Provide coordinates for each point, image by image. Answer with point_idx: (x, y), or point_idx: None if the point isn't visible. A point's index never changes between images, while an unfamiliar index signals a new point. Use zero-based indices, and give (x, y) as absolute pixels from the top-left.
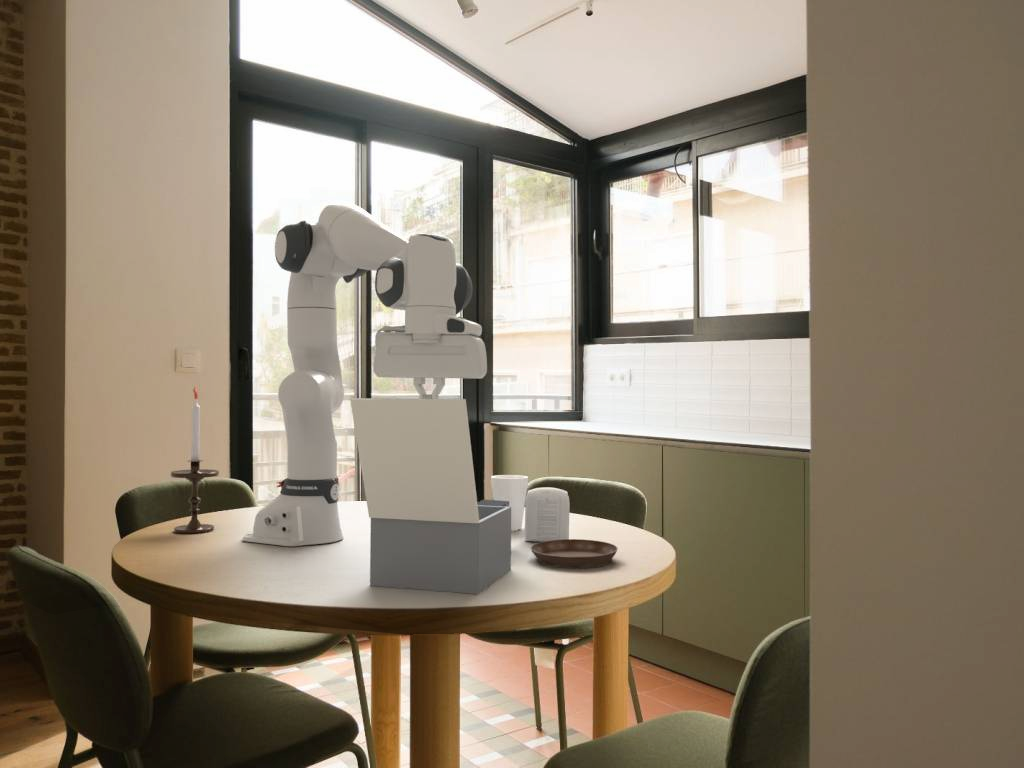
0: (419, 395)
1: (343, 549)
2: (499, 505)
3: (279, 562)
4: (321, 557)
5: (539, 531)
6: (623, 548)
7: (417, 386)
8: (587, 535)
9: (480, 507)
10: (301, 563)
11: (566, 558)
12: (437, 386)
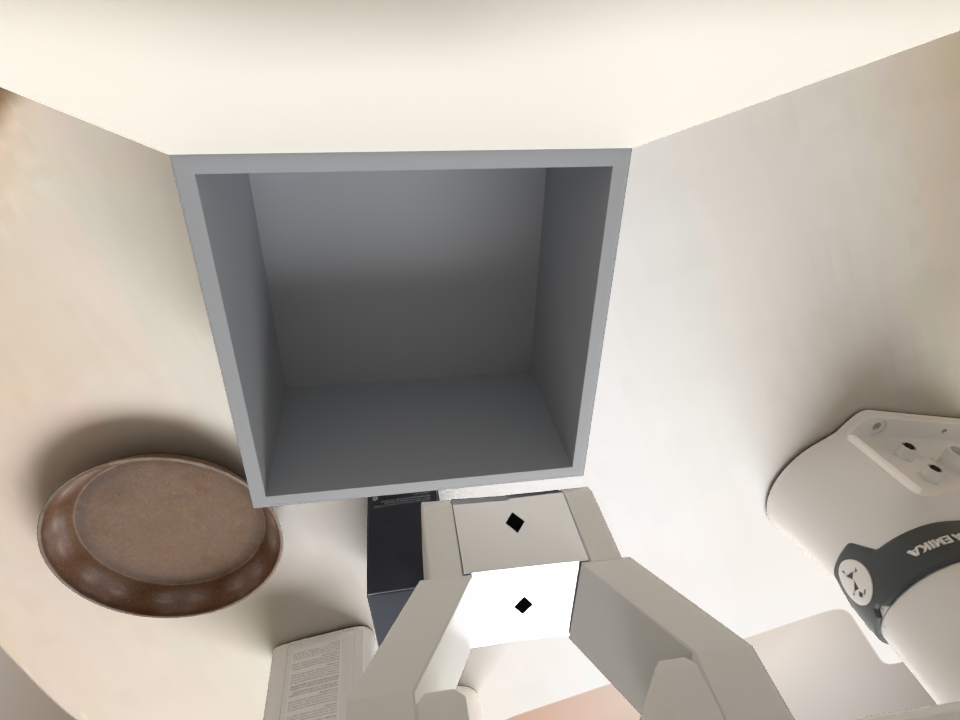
0: (615, 545)
1: (740, 432)
2: (376, 612)
3: (856, 270)
4: (769, 348)
5: (332, 651)
6: (124, 649)
7: (682, 624)
8: (263, 711)
9: (356, 484)
10: (801, 278)
11: (134, 456)
12: (395, 666)
